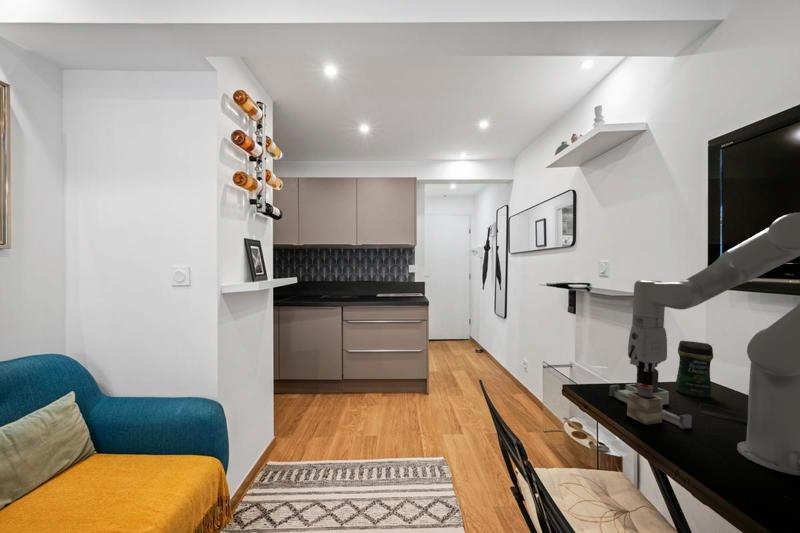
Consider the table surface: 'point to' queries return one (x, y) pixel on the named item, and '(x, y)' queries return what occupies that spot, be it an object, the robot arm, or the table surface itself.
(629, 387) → the carriage
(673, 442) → the table surface
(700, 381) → the coffee jar
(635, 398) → the wooden box
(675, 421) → the rail
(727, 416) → the phone
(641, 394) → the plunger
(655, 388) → the bottle
